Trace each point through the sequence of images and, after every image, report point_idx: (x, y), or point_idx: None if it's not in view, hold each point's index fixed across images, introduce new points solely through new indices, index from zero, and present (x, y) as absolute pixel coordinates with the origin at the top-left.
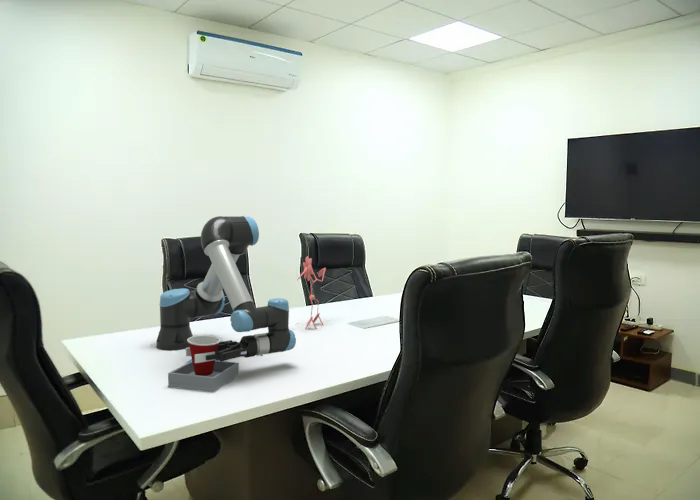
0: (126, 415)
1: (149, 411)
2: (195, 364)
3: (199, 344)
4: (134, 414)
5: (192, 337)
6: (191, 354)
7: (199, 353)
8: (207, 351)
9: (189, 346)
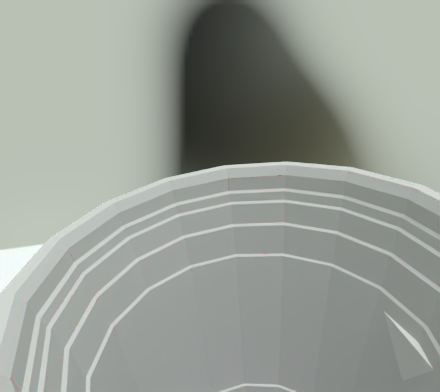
0: (35, 248)
1: (5, 284)
2: (202, 382)
3: (79, 222)
4: (23, 259)
5: (378, 185)
6: (232, 295)
7: (133, 318)
8: (78, 372)
9: (231, 221)
